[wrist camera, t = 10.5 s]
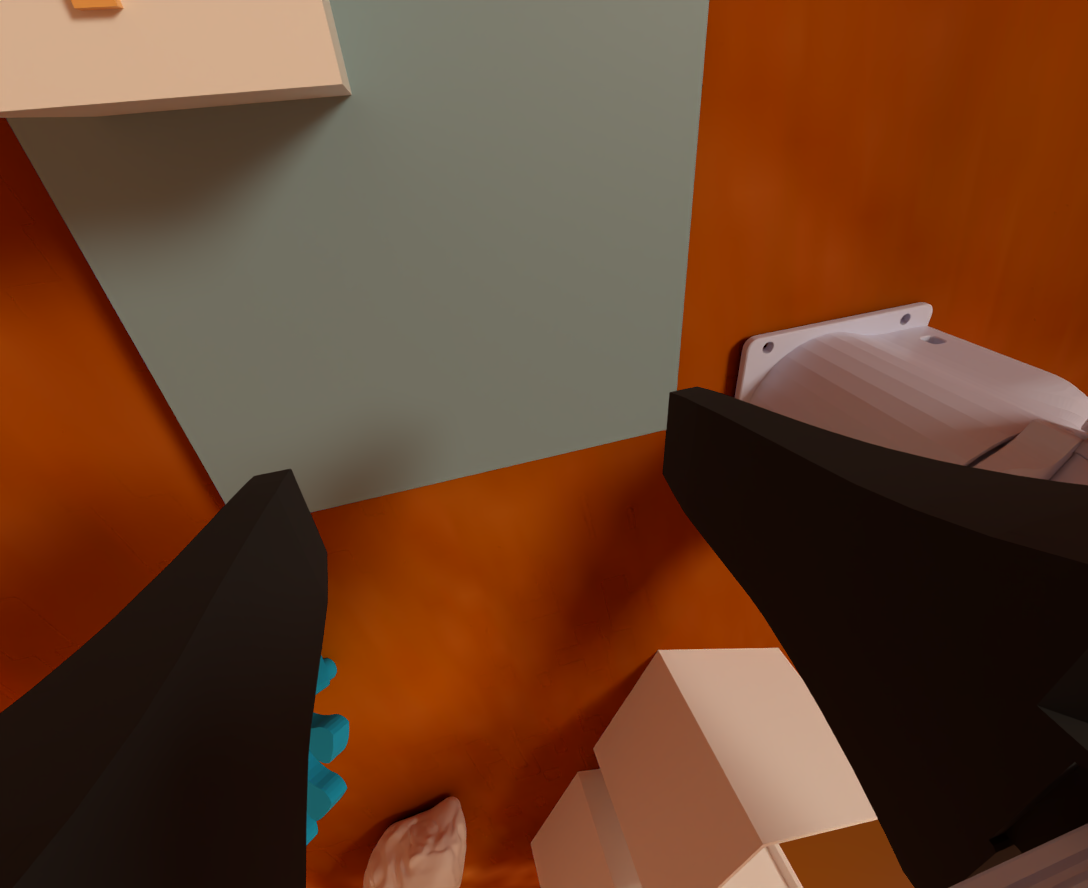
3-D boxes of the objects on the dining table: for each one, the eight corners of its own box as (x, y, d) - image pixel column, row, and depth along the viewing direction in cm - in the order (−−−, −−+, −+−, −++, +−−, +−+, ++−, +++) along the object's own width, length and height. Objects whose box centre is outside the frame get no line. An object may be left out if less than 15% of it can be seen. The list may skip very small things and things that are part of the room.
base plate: (711, -379, 11) (744, -425, 10) (660, 414, 22) (673, 427, 21) (-289, -481, 8) (-385, -568, 7) (245, 507, 19) (239, 529, 18)
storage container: (656, 647, 33) (763, 844, 24) (776, 645, 37) (903, 810, 28) (529, 840, 43) (571, 1025, 35) (635, 821, 48) (695, 980, 39)
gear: (227, 562, 18) (372, 818, 17) (342, 527, 24) (458, 716, 22) (74, 697, 21) (186, 922, 20) (207, 638, 27) (302, 810, 25)
